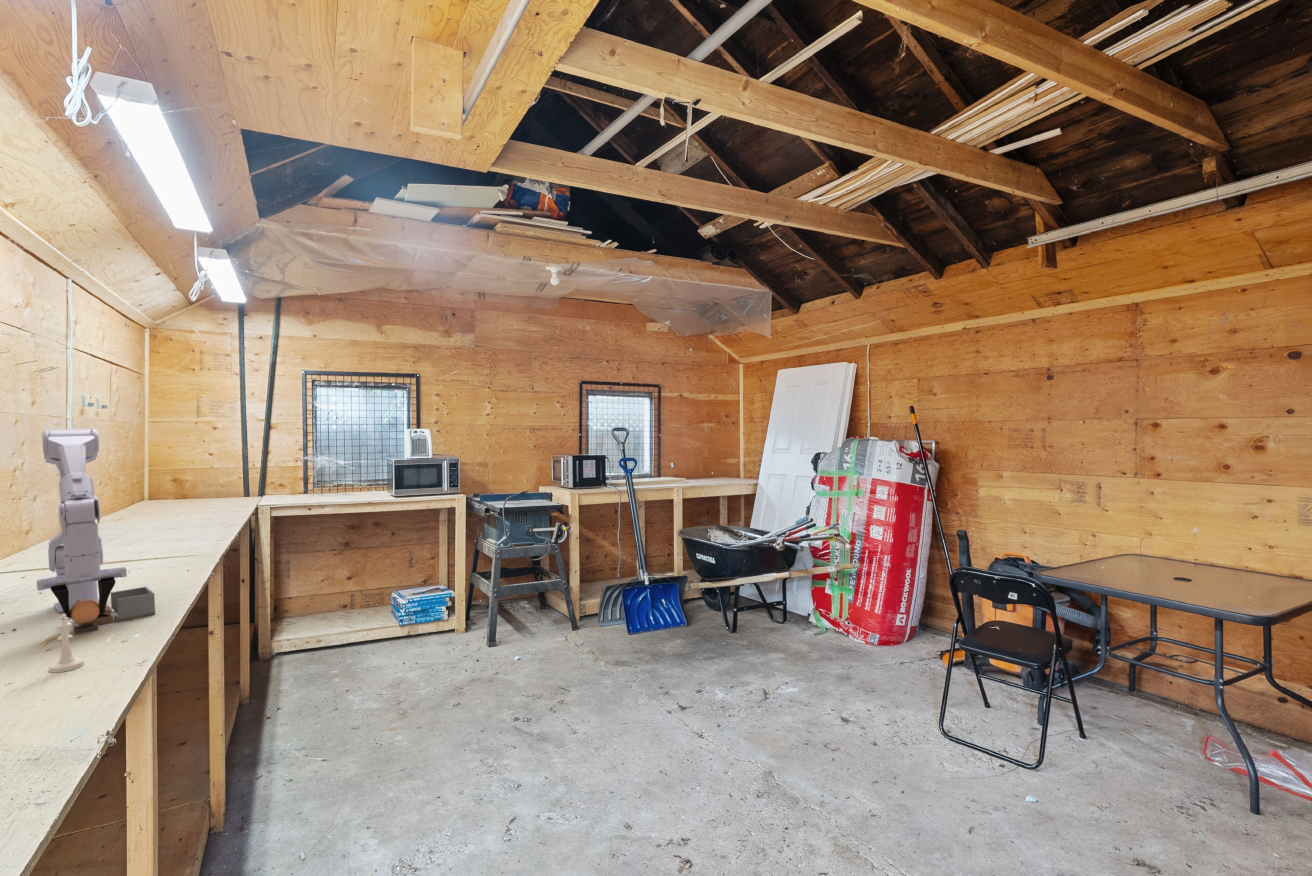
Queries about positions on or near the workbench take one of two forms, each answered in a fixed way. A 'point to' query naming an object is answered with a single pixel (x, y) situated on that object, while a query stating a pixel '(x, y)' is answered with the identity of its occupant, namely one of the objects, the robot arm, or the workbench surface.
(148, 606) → the gray open storage bin
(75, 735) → the workbench surface
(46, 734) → the workbench surface
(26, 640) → the workbench surface
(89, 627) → the dark gray picture frame
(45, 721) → the workbench surface
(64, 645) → the chess piece
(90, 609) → the ball
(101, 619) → the ramp
